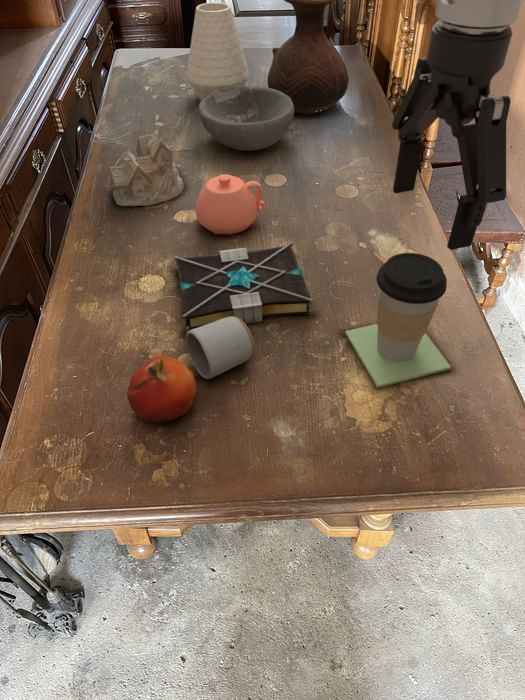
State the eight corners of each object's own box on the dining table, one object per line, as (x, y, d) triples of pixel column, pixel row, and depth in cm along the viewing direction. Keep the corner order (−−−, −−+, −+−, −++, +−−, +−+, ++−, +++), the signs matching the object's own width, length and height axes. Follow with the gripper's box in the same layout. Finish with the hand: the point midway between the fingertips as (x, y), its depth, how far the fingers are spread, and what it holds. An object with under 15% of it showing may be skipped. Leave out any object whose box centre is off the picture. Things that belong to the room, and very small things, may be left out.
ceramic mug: (258, 365, 82) (256, 328, 77) (212, 389, 79) (207, 352, 73) (221, 327, 88) (217, 290, 83) (177, 348, 85) (170, 311, 80)
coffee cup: (405, 380, 79) (426, 302, 68) (352, 349, 83) (364, 271, 73) (438, 345, 84) (462, 267, 73) (387, 318, 88) (402, 241, 78)
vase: (192, 114, 148) (182, 18, 131) (186, 91, 159) (176, 0, 143) (255, 108, 150) (253, 13, 133) (244, 85, 162) (240, -4, 145)
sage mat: (450, 369, 81) (451, 366, 81) (377, 388, 79) (377, 385, 78) (412, 318, 89) (412, 315, 89) (344, 333, 87) (345, 331, 86)
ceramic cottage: (178, 164, 127) (166, 100, 116) (187, 202, 116) (174, 136, 105) (112, 176, 126) (93, 112, 114) (115, 216, 115) (94, 150, 104)
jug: (339, 89, 159) (349, -34, 137) (351, 120, 144) (365, -13, 122) (265, 92, 158) (264, -32, 137) (269, 123, 143) (269, -10, 122)
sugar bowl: (193, 211, 113) (188, 165, 106) (259, 203, 115) (258, 157, 108) (201, 244, 105) (196, 196, 97) (271, 235, 107) (271, 187, 99)
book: (291, 257, 101) (292, 234, 98) (314, 316, 90) (315, 293, 86) (175, 271, 99) (172, 248, 95) (183, 334, 87) (179, 311, 84)
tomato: (201, 382, 80) (196, 344, 74) (195, 433, 74) (188, 395, 68) (139, 381, 80) (129, 343, 75) (127, 432, 74) (115, 395, 68)
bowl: (192, 162, 128) (188, 119, 121) (210, 122, 144) (207, 82, 137) (289, 166, 126) (290, 123, 119) (296, 125, 142) (297, 85, 135)
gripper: (380, -4, 60) (359, 175, 75) (520, 69, 43) (457, 281, 58) (440, -10, 61) (408, 167, 76) (598, 58, 44) (517, 267, 60)
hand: (429, 216), depth 67 cm, fingers open, 13 cm apart
